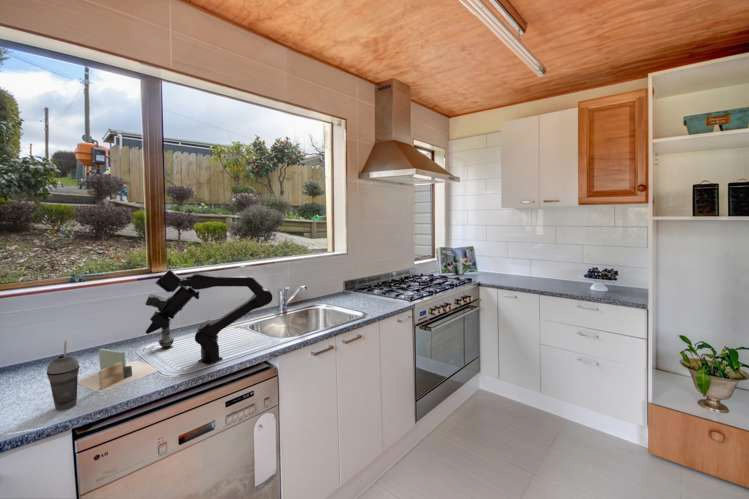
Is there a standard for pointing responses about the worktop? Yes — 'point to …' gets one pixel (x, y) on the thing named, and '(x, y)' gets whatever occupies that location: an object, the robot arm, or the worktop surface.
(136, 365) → the card
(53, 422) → the worktop surface
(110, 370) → the tan dark-tipped bar
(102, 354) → the fence panel
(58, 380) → the beverage cup
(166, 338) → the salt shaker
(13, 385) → the worktop surface
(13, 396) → the worktop surface
